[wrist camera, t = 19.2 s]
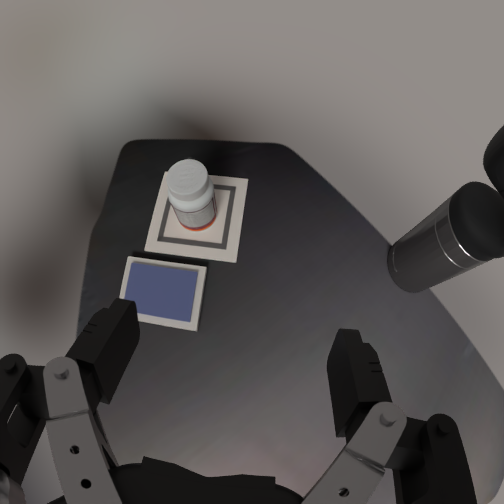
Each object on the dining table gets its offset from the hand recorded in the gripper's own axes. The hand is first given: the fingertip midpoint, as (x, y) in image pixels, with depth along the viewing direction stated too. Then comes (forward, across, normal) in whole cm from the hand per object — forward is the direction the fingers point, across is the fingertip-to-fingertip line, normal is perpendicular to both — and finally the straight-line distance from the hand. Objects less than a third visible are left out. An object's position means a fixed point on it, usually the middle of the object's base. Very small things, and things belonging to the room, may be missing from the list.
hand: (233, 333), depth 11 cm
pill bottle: (+35, +9, +9) cm, 37 cm away
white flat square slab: (+35, +9, +8) cm, 37 cm away
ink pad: (+26, +12, +18) cm, 33 cm away
